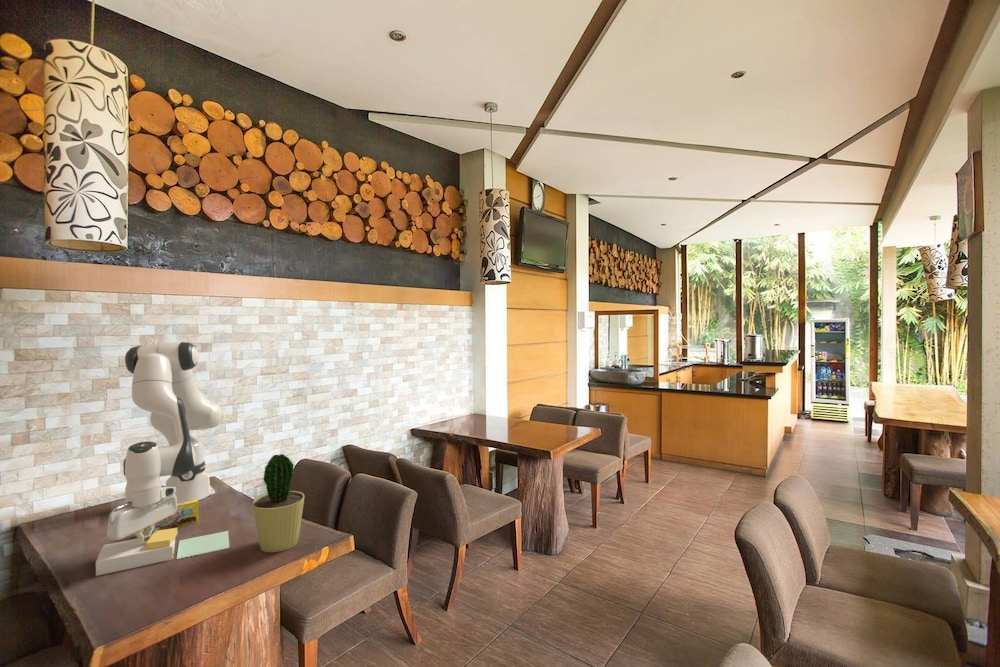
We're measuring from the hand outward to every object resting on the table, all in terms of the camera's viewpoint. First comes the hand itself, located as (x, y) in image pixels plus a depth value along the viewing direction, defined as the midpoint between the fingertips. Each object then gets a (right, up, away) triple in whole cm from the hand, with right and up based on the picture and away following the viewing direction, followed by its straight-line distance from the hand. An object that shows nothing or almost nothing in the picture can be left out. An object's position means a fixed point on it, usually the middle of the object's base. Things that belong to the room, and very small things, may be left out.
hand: (144, 540), depth 145 cm
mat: (+13, -5, +8) cm, 16 cm away
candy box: (-6, -5, +20) cm, 21 cm away
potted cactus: (+37, -5, +9) cm, 39 cm away
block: (+4, -1, +2) cm, 5 cm away
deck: (-1, -5, -1) cm, 5 cm away
